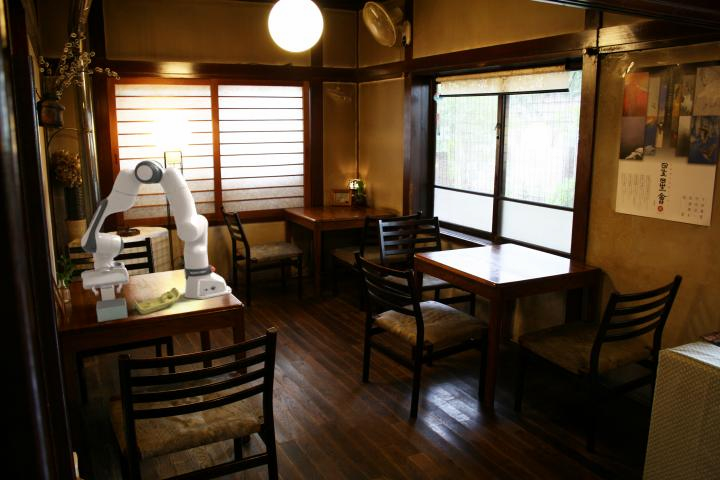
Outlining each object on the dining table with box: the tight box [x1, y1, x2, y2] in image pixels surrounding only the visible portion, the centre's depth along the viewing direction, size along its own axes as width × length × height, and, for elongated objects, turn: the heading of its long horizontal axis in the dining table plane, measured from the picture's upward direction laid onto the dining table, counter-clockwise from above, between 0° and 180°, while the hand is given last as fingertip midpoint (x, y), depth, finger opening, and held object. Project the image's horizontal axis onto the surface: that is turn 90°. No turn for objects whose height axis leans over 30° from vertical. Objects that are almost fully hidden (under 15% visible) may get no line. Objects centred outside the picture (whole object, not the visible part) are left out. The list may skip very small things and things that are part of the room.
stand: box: [96, 297, 129, 323], centre depth 265 cm, size 12×12×6 cm
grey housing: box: [100, 284, 116, 301], centre depth 276 cm, size 6×6×11 cm
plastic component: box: [132, 287, 181, 315], centre depth 275 cm, size 20×7×10 cm
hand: (107, 293), depth 277 cm, fingers open, 8 cm apart
